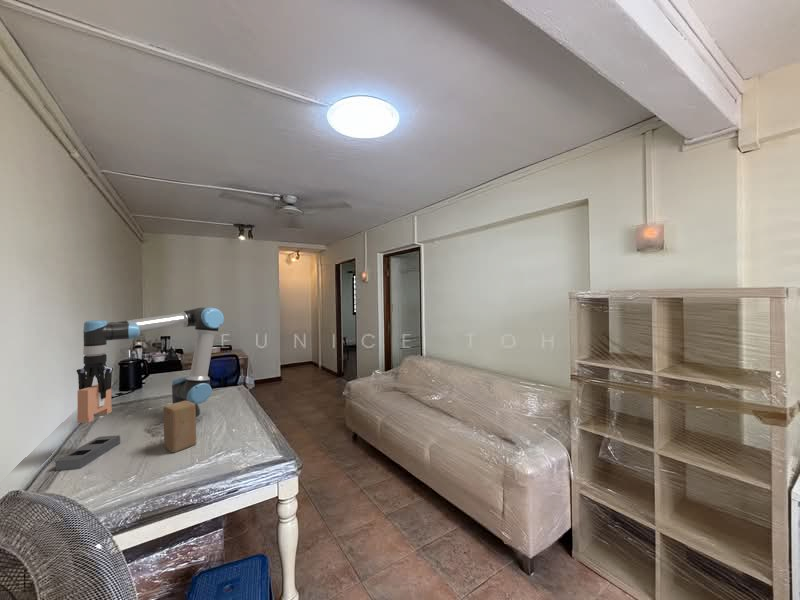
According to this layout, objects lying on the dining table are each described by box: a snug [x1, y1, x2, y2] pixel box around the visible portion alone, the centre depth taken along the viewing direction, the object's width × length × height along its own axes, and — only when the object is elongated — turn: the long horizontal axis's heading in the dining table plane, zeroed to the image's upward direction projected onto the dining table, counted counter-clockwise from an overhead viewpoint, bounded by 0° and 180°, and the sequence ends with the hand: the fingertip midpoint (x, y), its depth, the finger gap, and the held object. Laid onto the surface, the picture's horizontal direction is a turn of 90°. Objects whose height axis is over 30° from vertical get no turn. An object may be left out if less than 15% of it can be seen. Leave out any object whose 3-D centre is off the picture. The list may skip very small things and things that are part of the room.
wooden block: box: [162, 401, 197, 453], centre depth 148 cm, size 10×10×20 cm
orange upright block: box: [76, 381, 113, 424], centre depth 142 cm, size 4×13×14 cm, turn 7°
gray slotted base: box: [54, 435, 121, 472], centre depth 140 cm, size 9×22×4 cm, turn 8°
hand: (95, 405), depth 142 cm, fingers closed on orange upright block, 4 cm apart
